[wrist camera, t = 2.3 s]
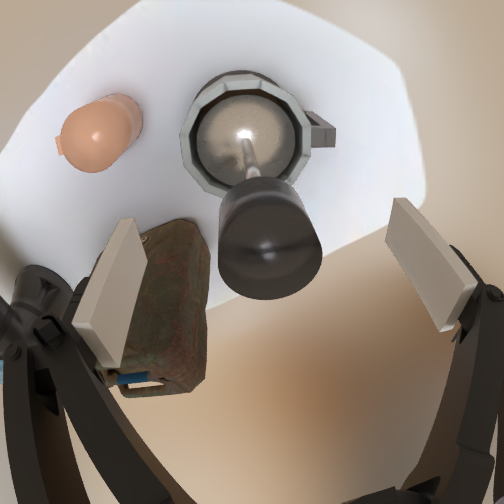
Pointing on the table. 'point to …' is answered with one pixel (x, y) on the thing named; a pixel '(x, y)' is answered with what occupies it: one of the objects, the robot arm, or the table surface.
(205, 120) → the plunger
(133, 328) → the canister
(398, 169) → the table surface
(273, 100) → the faceted grey tankard
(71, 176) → the table surface
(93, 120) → the peach mug
